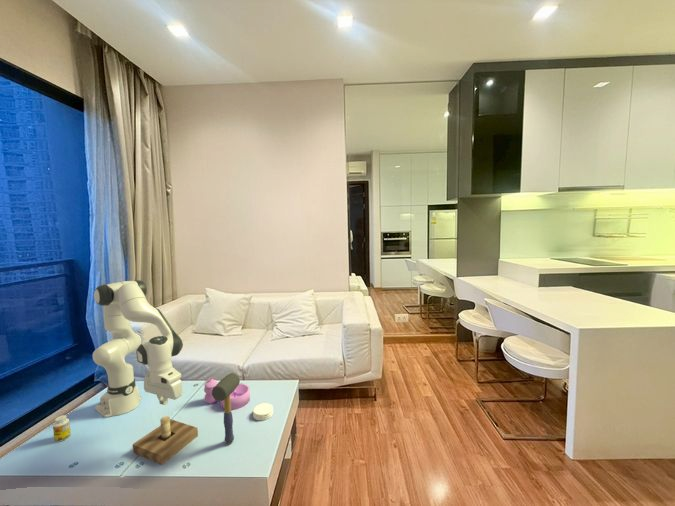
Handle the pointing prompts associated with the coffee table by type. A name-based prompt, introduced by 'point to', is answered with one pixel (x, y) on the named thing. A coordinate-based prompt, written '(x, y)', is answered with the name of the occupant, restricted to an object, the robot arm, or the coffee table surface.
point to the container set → (236, 397)
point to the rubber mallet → (226, 402)
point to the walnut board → (165, 442)
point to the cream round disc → (263, 411)
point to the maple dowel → (165, 428)
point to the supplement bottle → (61, 428)
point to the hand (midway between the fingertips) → (163, 403)
